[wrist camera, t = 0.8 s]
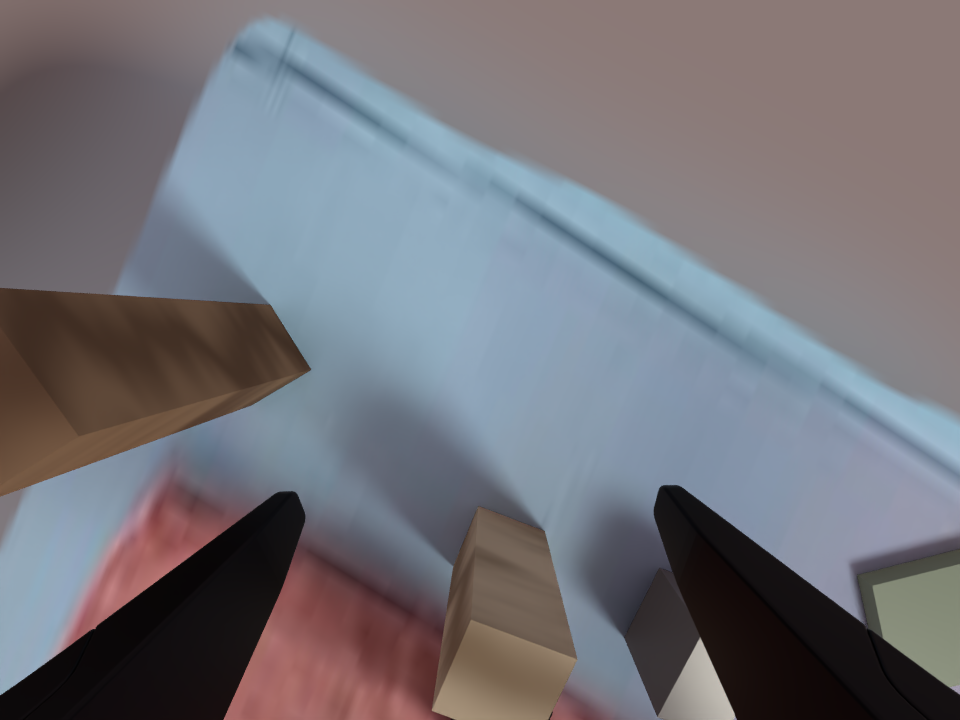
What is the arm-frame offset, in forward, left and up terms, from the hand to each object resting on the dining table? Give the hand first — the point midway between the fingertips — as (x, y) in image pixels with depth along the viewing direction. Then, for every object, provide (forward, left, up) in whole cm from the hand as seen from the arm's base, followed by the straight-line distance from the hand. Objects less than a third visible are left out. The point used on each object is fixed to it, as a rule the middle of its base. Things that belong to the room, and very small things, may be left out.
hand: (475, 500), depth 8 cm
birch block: (-11, -5, -14) cm, 19 cm away
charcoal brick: (-11, -18, -14) cm, 26 cm away
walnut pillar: (-4, +15, -14) cm, 21 cm away
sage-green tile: (-4, -35, -15) cm, 38 cm away
